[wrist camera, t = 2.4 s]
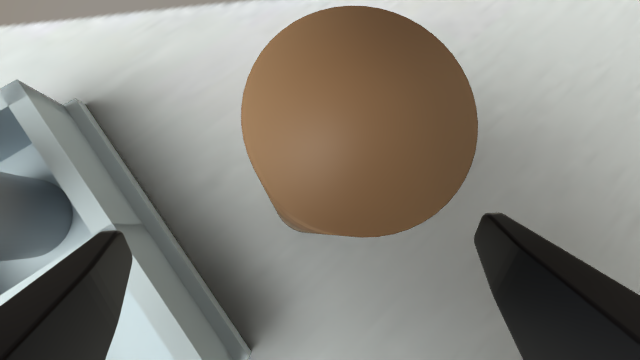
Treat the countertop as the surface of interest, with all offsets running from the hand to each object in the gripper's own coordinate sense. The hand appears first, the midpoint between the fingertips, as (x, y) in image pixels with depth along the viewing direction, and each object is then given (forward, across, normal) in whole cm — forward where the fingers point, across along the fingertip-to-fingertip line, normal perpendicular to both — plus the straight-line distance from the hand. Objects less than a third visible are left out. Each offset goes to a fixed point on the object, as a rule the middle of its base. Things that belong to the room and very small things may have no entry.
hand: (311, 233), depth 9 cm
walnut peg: (+8, 0, +5) cm, 9 cm away
